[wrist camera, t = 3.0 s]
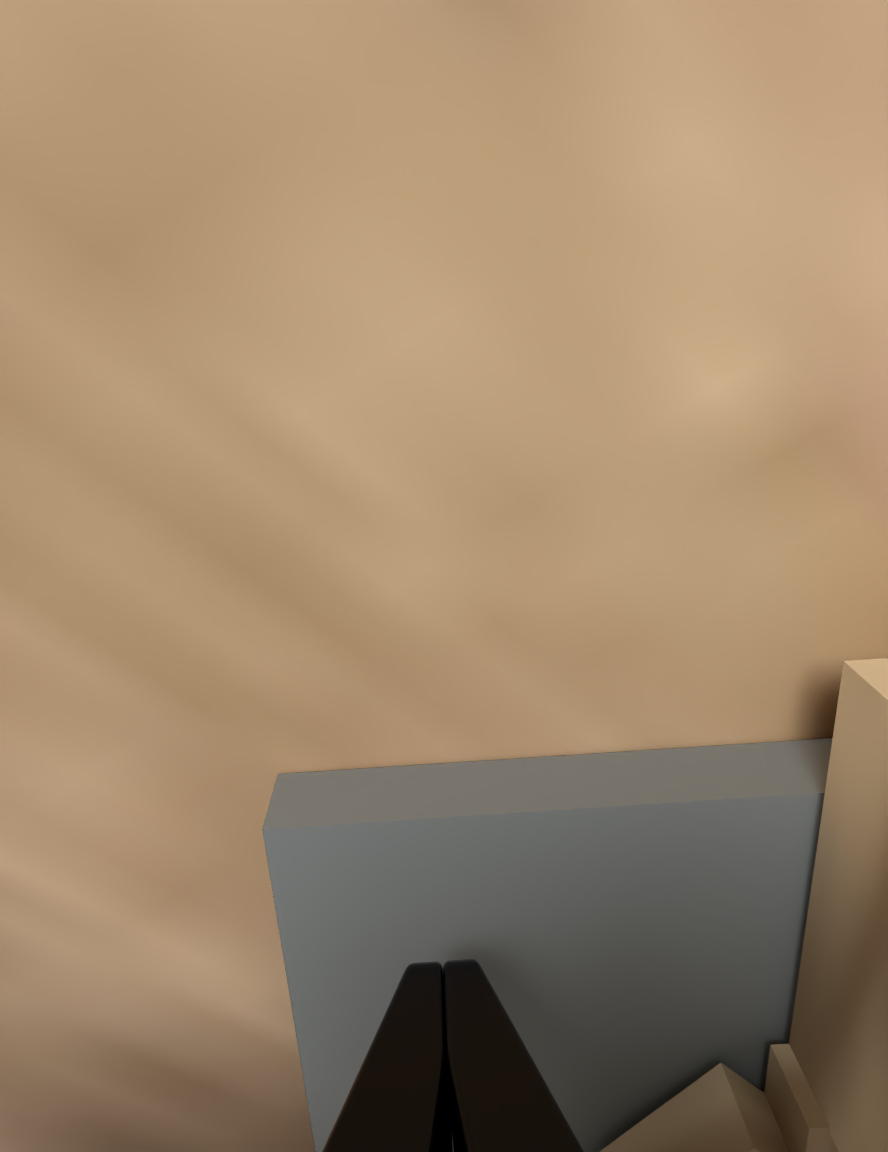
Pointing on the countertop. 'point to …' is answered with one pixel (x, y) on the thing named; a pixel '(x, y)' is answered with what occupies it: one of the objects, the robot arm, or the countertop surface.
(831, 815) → the ring with handle
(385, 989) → the board
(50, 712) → the countertop surface
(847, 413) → the countertop surface
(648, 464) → the countertop surface
